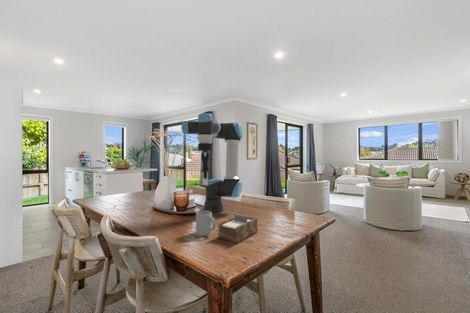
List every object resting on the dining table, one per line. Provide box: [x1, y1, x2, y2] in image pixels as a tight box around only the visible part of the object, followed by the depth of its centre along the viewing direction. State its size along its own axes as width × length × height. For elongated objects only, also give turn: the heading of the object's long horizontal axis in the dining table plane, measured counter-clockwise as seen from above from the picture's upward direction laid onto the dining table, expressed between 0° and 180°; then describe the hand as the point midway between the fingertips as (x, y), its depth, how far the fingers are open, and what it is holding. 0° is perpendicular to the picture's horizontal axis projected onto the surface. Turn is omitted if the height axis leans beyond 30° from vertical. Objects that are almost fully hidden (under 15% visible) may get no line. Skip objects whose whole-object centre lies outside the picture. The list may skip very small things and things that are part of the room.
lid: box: [222, 213, 250, 229], centre depth 117 cm, size 16×9×4 cm, turn 145°
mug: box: [195, 210, 216, 237], centre depth 120 cm, size 12×8×11 cm
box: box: [218, 216, 258, 244], centre depth 118 cm, size 18×12×8 cm, turn 145°
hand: (205, 183), depth 121 cm, fingers open, 13 cm apart
